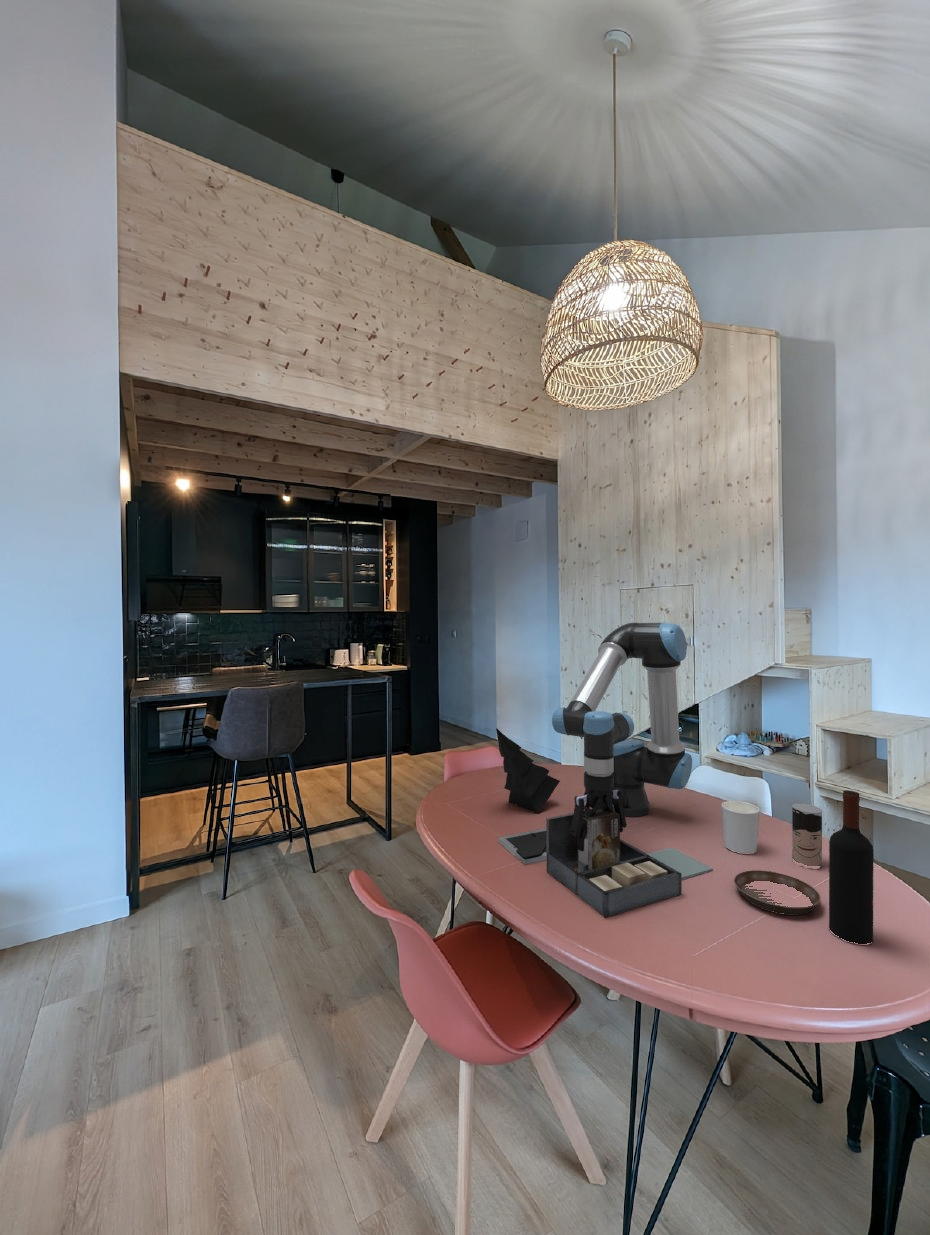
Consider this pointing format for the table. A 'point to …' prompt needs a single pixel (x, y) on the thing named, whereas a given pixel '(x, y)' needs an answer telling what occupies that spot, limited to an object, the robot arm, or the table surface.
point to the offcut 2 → (651, 870)
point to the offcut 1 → (605, 883)
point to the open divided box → (604, 873)
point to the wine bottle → (851, 877)
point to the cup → (807, 834)
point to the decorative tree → (524, 777)
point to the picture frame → (527, 846)
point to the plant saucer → (773, 877)
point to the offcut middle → (627, 874)
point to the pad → (680, 862)
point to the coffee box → (602, 840)
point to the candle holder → (740, 826)
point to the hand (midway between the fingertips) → (598, 858)
